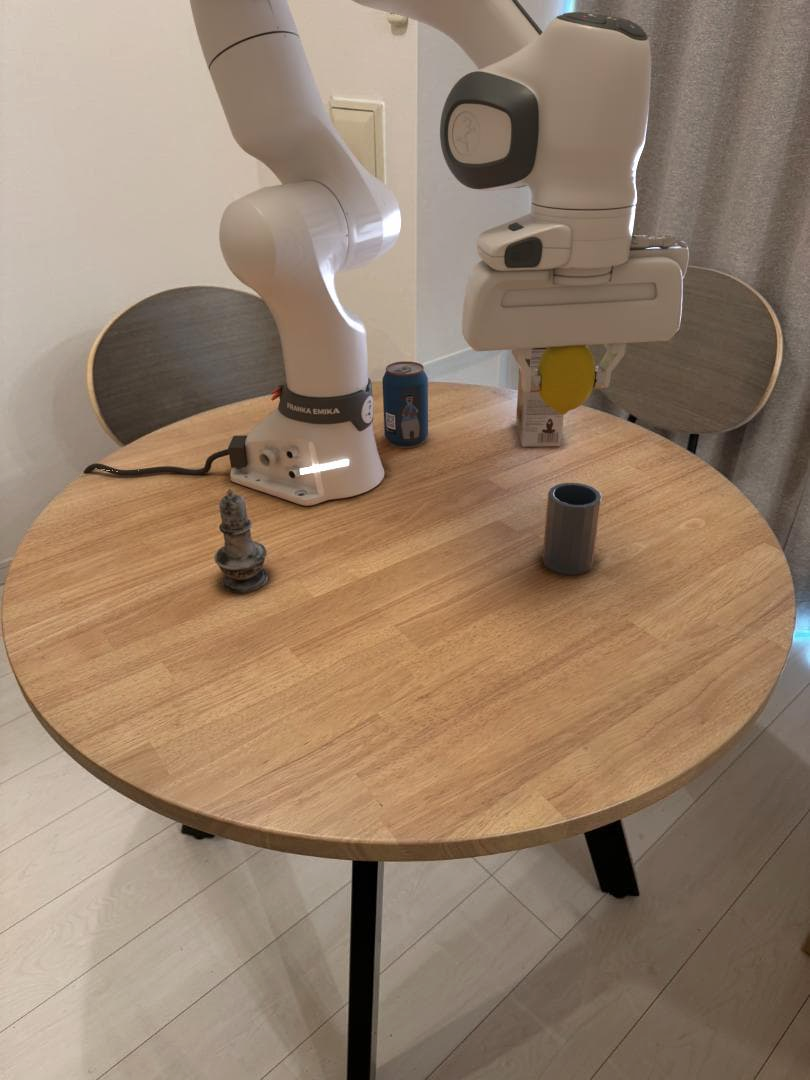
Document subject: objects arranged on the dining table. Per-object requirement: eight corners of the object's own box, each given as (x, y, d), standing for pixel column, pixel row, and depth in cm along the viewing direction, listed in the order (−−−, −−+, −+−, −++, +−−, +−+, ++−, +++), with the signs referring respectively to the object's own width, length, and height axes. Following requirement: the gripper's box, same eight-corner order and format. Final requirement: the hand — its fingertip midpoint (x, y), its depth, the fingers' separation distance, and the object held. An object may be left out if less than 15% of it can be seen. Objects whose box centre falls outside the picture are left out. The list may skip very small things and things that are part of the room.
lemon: (527, 421, 72) (534, 340, 68) (541, 401, 77) (547, 324, 72) (584, 429, 71) (594, 346, 66) (594, 408, 75) (604, 329, 71)
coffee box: (514, 423, 122) (520, 326, 113) (553, 423, 122) (562, 326, 113) (521, 447, 114) (528, 345, 105) (562, 447, 114) (572, 344, 105)
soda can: (406, 428, 121) (405, 356, 115) (437, 440, 117) (437, 366, 111) (375, 441, 117) (372, 368, 111) (406, 454, 113) (404, 378, 107)
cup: (537, 569, 86) (543, 502, 81) (548, 544, 91) (555, 479, 86) (587, 579, 84) (596, 511, 79) (596, 553, 89) (605, 487, 84)
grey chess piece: (279, 570, 87) (266, 480, 81) (254, 598, 82) (239, 505, 76) (235, 562, 89) (220, 473, 82) (209, 589, 84) (190, 497, 78)
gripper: (677, 227, 68) (652, 371, 76) (460, 236, 67) (457, 383, 74) (708, 239, 63) (679, 393, 71) (474, 250, 61) (469, 406, 69)
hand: (564, 388), depth 72 cm, fingers closed on lemon, 5 cm apart
